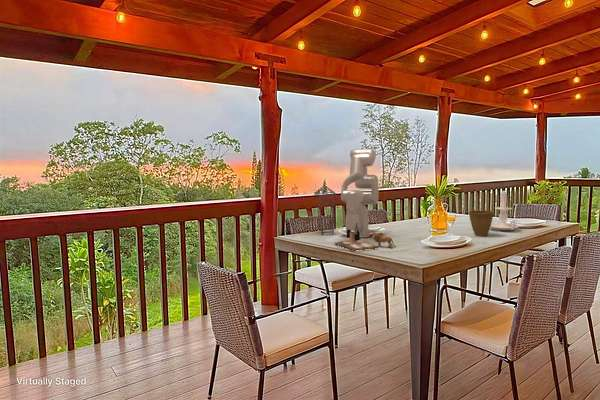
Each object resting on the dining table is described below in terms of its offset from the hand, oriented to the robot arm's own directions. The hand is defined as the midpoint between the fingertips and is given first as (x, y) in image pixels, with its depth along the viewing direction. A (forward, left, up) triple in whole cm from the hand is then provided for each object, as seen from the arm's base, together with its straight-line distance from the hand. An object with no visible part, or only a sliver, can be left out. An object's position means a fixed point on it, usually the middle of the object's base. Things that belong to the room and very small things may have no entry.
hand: (353, 239), depth 251 cm
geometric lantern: (-4, -46, -4) cm, 46 cm away
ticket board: (0, +3, -4) cm, 5 cm away
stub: (0, 0, -2) cm, 2 cm away
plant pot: (-89, +15, -4) cm, 90 cm away
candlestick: (-117, +10, -5) cm, 118 cm away
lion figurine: (-14, +12, -5) cm, 19 cm away
